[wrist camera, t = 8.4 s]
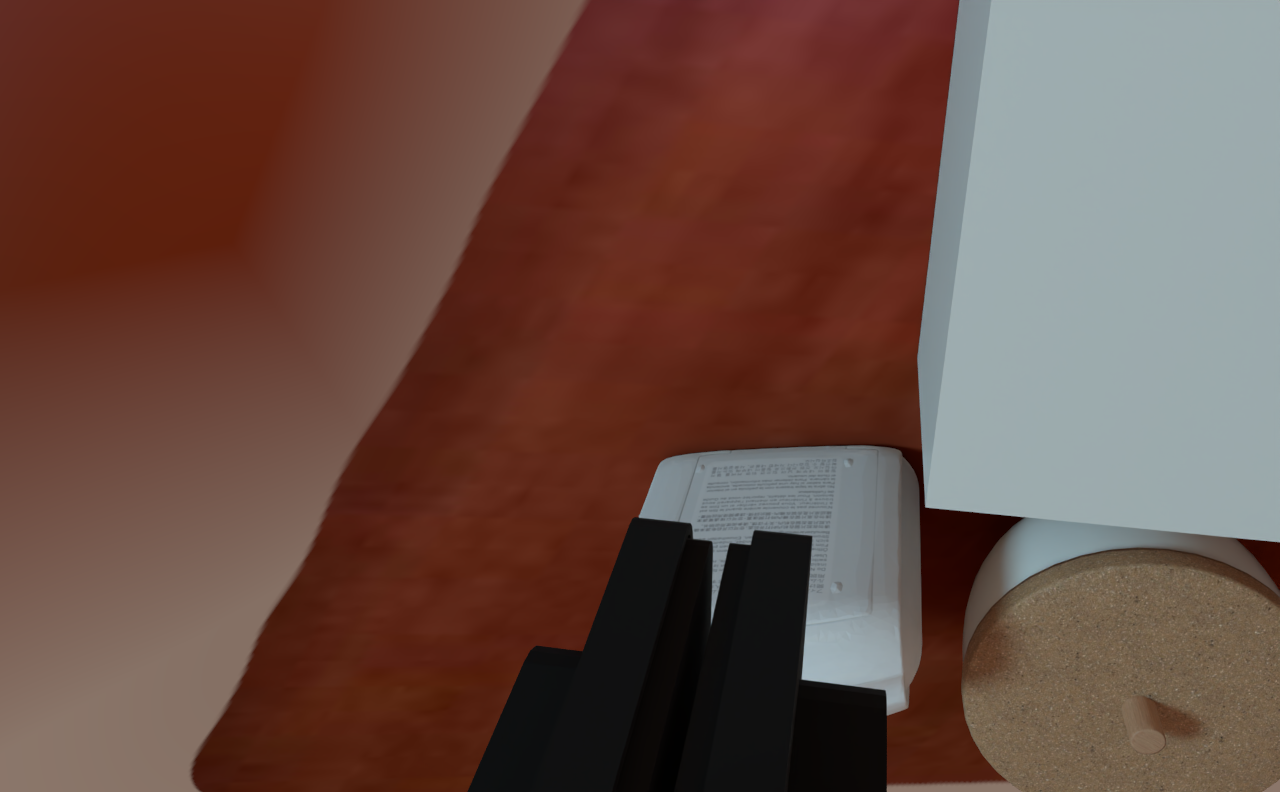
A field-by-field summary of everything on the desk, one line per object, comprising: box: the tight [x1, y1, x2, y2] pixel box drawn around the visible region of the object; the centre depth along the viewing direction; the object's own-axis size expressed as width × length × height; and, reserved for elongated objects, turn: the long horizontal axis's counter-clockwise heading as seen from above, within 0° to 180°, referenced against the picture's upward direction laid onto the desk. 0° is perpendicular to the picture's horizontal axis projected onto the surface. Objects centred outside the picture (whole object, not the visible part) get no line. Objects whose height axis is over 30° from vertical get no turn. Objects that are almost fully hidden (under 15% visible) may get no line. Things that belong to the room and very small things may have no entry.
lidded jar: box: [961, 517, 1280, 792], centre depth 38 cm, size 11×11×9 cm
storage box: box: [918, 0, 1280, 542], centre depth 31 cm, size 10×16×10 cm, turn 0°
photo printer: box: [639, 445, 922, 715], centre depth 38 cm, size 10×4×12 cm, turn 100°
